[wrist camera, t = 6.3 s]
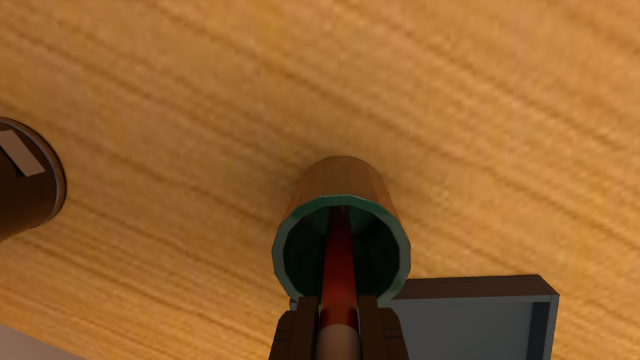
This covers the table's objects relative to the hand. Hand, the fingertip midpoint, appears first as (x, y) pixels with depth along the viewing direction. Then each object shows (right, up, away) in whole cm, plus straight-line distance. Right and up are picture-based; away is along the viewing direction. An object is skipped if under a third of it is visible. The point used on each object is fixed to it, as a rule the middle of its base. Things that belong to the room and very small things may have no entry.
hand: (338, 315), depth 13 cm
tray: (+8, -9, +16) cm, 20 cm away
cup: (+1, +4, +13) cm, 13 cm away
